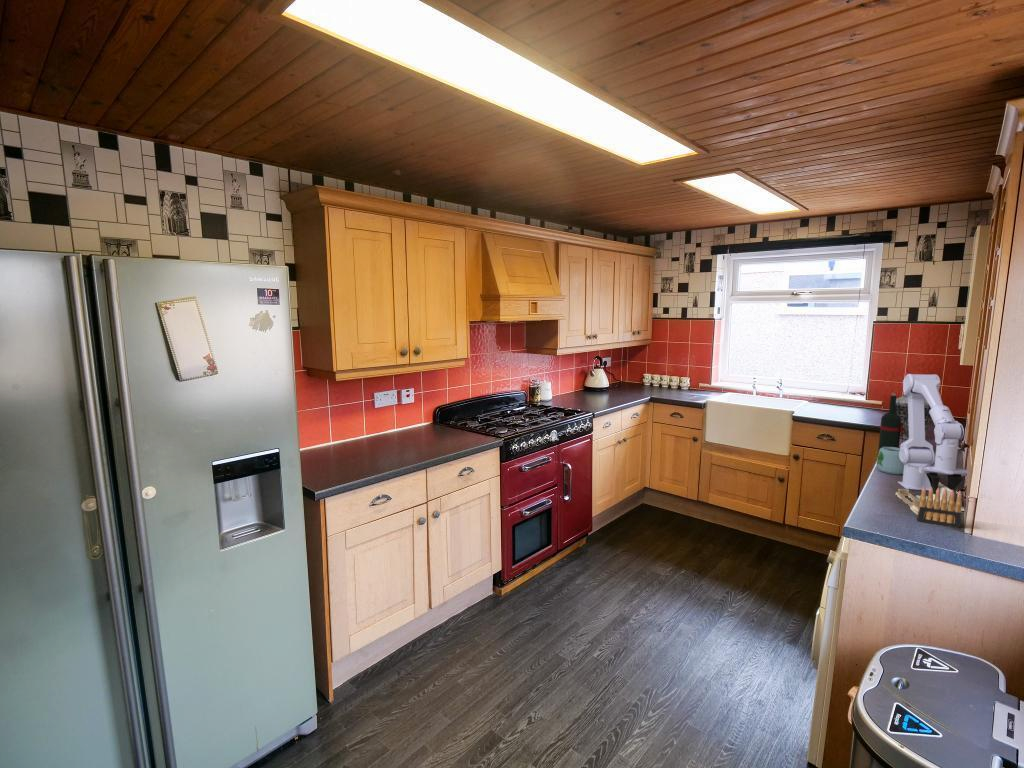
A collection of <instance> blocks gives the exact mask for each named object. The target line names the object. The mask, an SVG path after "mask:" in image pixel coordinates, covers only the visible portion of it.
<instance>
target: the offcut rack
mask: <svg viewBox="0 0 1024 768" xmlns="http://www.w3.org/2000/svg"><path fill="white" fill-rule="evenodd" d="M896 495H897V497H898V499H900V500H901V499H902V500H903V501H902V500H901V501H902V502H903V503H905V505H907V504H908V505H907V506H909V509H910V510H911V511H912V512H913V513H914V514H916V515H917V516H918V510H919V502H920V500H919V499H918V498H917V497H916V495H915V496H914V495H913V494H912V493H911V492H910V489H906V488H898V491H896V492H895V496H896ZM905 496H908V497H907V498H906V497H905ZM908 498H911V499H910V500H909V499H908ZM911 500H912V501H911ZM926 503H927V502H926ZM925 512H926V511H925ZM932 514H933V512H932Z"/></svg>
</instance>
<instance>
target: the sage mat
mask: <svg viewBox="0 0 1024 768" xmlns="http://www.w3.org/2000/svg"><path fill="white" fill-rule="evenodd" d="M915 497H916V498H917V499H919V500H920V497H921V495H919V494H918V495H915ZM927 498H928V495H926V502H927ZM933 505H934V500H933ZM954 509H955V505H954ZM961 511H964V506H962V508H961Z"/></svg>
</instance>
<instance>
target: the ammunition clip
mask: <svg viewBox="0 0 1024 768" xmlns="http://www.w3.org/2000/svg"><path fill="white" fill-rule="evenodd" d="M962 494H963V493H962V491H961V490H958V492H957V495H956V499H955V491H954V490H952V491H951V493H950V497H949V501H948V507H947V490H946V489H945V490H944V492H943V495H942V500H941V505H940V489H939V488H938V489H937V491H936V494H935V499H934V505H933V488H932V487H930V489H929V491H928V494H927V490H926V488H925V486H923V488H922V490H921V493H920V496H921V497H920V502H919V510H918V515H917V517H916V522H919V523H923V524H930V525H935V524H936V526H942V525H943V526H942V527H948V526H951V527H950V528H954V527H960V528H961V521H962V512H961V508H962V507H963V503H962V498H963V497H962ZM926 496H928V498H927V503H926ZM954 505H955V509H954ZM925 511H926V512H925ZM932 512H933V514H932Z"/></svg>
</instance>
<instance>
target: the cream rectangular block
mask: <svg viewBox="0 0 1024 768" xmlns="http://www.w3.org/2000/svg"><path fill="white" fill-rule="evenodd" d="M947 487H948V486H946V485H944V484H943V483H942V482H940V481H939V484H938V488H939V489H940V505H941V500H942V495H943V492H944V490H945V489H946V490H947V507H948V501H949V497H950V493H951V491H952V490H951V489H949V488H947ZM934 499H935V494H933V500H934Z"/></svg>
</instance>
